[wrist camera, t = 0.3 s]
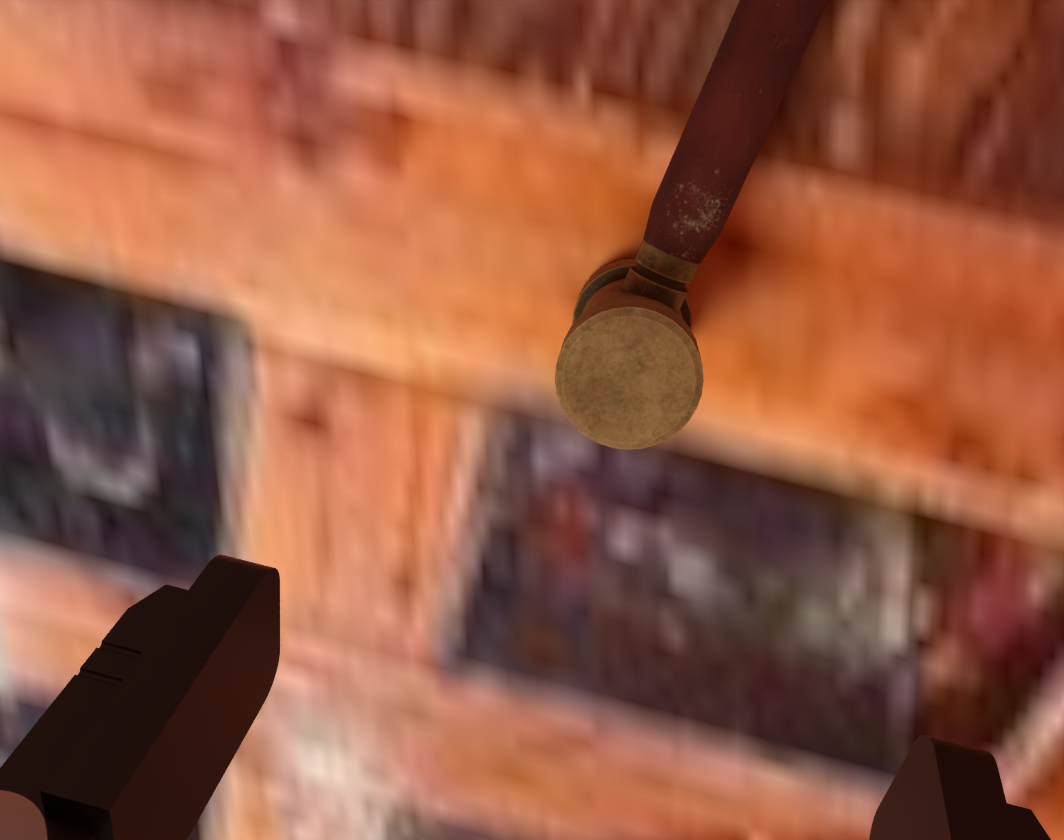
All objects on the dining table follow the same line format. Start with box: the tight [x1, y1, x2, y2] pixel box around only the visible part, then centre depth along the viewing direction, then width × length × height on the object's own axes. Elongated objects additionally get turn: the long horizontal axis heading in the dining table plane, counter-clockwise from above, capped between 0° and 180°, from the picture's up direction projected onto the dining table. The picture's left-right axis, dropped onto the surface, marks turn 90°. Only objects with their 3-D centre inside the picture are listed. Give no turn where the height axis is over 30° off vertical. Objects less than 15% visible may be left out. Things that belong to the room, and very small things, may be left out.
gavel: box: [555, 0, 828, 450], centre depth 32 cm, size 21×5×10 cm, turn 160°
